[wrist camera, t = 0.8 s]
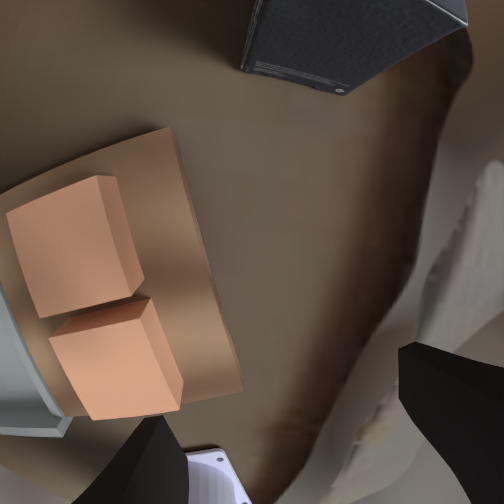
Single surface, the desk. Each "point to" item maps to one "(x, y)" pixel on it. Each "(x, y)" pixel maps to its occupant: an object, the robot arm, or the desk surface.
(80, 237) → the tile near
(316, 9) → the small box
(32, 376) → the tray
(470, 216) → the desk surface
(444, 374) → the robot arm
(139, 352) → the tile far
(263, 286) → the desk surface
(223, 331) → the plate
